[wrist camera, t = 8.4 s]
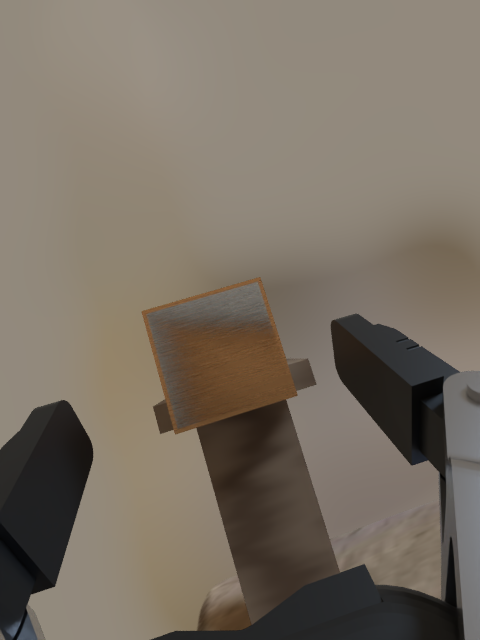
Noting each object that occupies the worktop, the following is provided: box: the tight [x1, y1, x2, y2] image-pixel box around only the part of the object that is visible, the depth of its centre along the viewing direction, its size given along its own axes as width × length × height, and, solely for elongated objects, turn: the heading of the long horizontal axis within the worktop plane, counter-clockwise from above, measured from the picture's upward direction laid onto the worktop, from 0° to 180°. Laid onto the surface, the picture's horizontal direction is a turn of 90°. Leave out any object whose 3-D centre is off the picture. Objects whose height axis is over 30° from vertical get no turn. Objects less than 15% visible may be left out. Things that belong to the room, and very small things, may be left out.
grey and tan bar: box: [142, 277, 297, 434], centre depth 20 cm, size 3×24×3 cm, turn 2°
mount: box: [153, 359, 340, 625], centre depth 24 cm, size 10×18×34 cm, turn 2°
